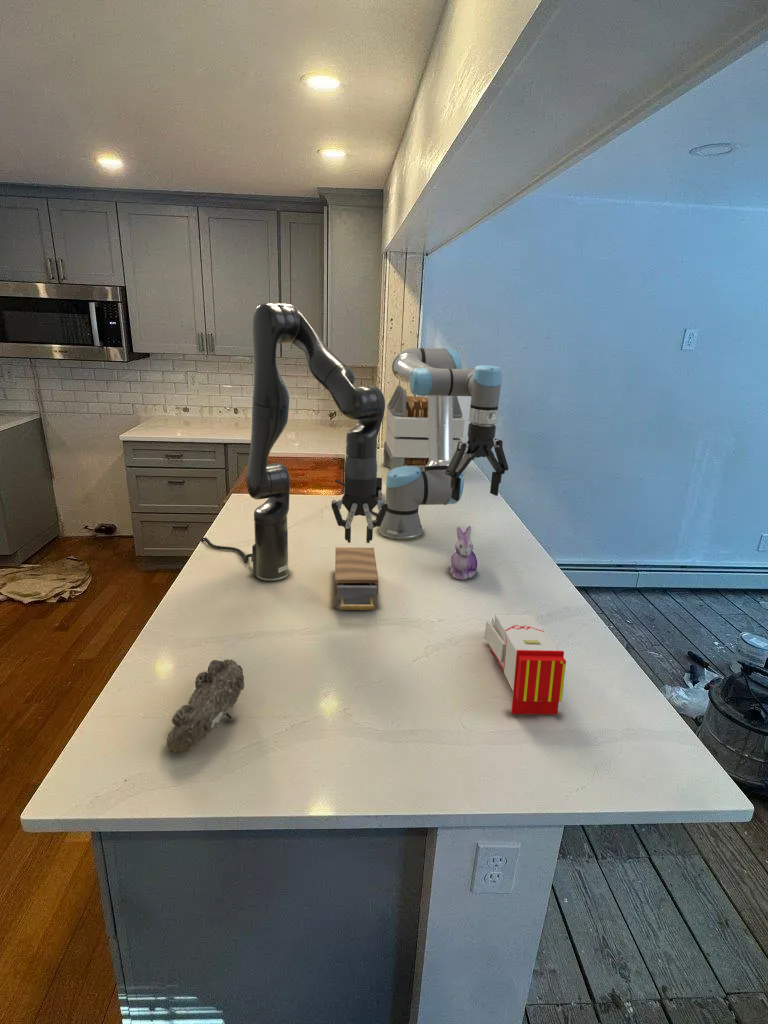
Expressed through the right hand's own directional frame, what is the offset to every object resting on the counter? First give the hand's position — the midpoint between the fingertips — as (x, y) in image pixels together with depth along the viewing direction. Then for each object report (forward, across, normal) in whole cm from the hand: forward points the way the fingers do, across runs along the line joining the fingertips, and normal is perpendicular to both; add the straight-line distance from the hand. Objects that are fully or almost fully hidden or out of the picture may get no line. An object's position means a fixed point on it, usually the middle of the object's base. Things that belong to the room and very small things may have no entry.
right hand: (474, 496), depth 163 cm
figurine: (+25, -1, 0) cm, 25 cm away
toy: (+24, -19, -46) cm, 55 cm away
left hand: (+3, -41, -10) cm, 43 cm away
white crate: (+26, +43, +101) cm, 113 cm away
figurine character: (+25, +5, +74) cm, 78 cm away
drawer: (+24, -38, -1) cm, 44 cm away
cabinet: (+25, -35, +4) cm, 43 cm away
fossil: (+24, -82, -33) cm, 92 cm away
